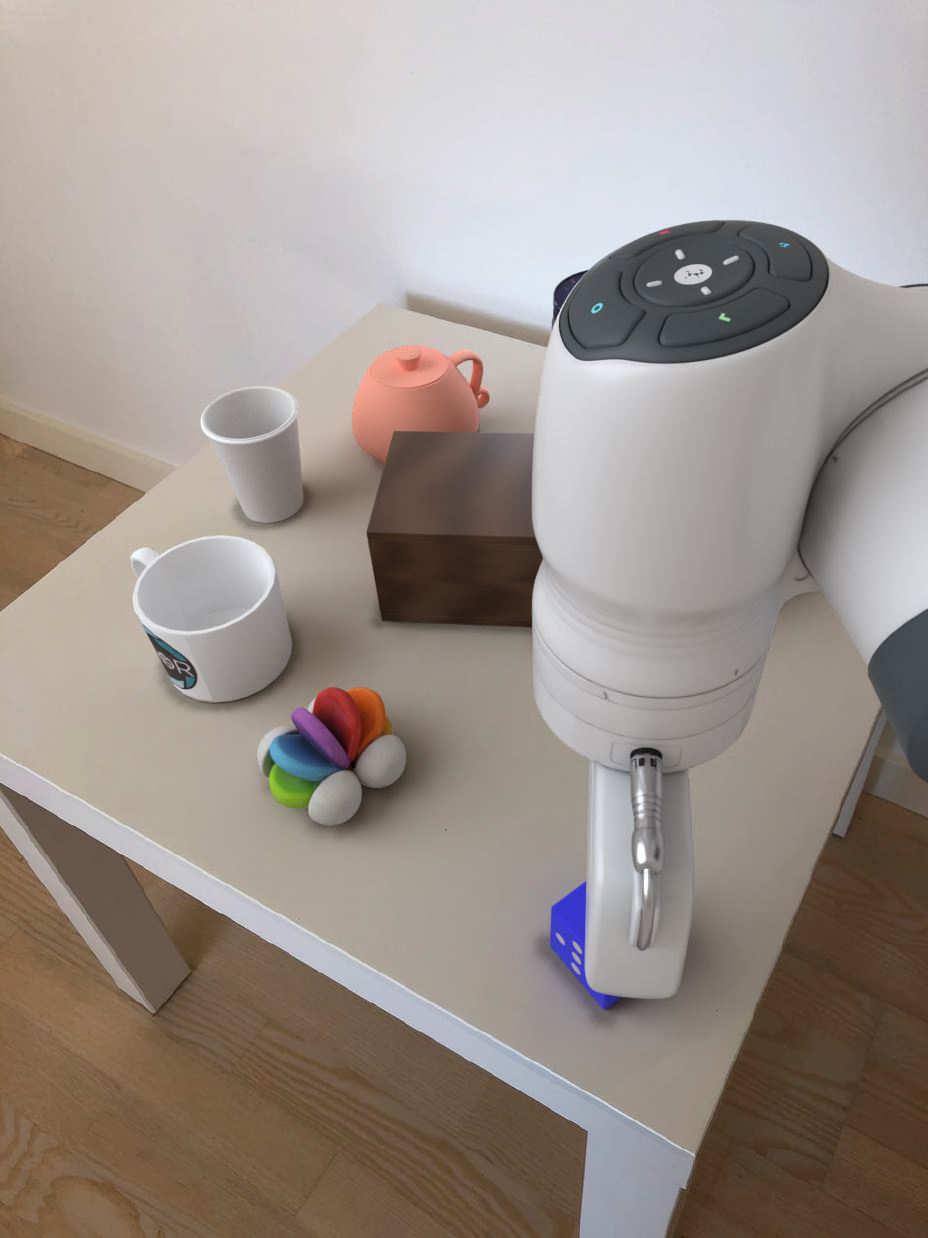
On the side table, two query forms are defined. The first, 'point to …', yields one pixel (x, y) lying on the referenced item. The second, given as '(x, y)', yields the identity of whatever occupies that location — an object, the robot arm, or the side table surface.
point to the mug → (213, 615)
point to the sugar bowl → (416, 396)
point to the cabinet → (455, 529)
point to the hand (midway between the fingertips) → (621, 839)
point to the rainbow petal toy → (332, 754)
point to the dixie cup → (258, 449)
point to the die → (574, 938)
